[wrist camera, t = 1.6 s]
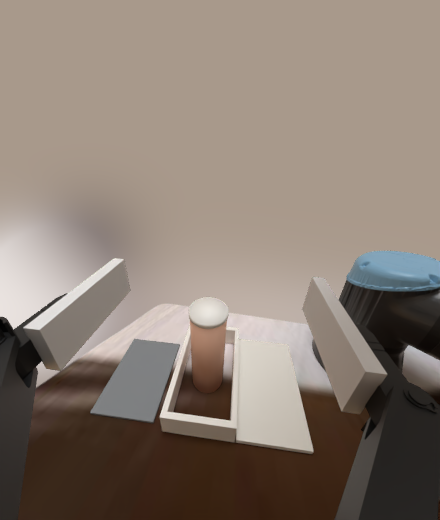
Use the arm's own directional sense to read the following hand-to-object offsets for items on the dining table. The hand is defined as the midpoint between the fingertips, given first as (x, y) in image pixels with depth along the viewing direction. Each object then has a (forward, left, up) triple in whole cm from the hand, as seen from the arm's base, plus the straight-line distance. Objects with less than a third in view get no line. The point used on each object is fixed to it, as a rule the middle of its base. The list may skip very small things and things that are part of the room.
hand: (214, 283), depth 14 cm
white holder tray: (-3, -10, -28) cm, 30 cm away
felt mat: (+14, -10, -28) cm, 33 cm away
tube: (+2, -11, -28) cm, 30 cm away
